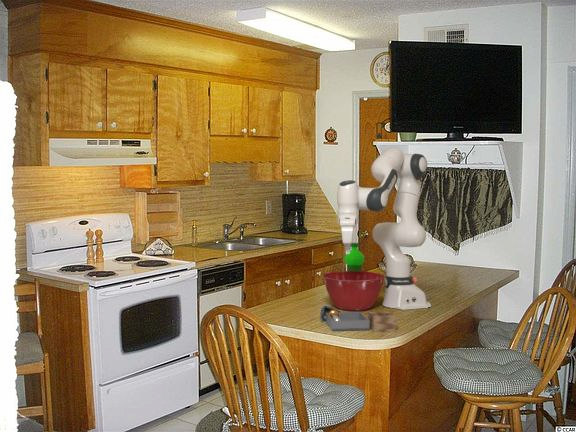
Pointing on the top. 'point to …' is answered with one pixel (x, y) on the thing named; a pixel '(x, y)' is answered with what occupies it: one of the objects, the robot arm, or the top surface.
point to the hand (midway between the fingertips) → (348, 251)
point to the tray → (348, 322)
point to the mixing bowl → (353, 289)
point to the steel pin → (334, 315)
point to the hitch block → (382, 321)
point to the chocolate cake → (325, 310)
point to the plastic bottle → (354, 258)
